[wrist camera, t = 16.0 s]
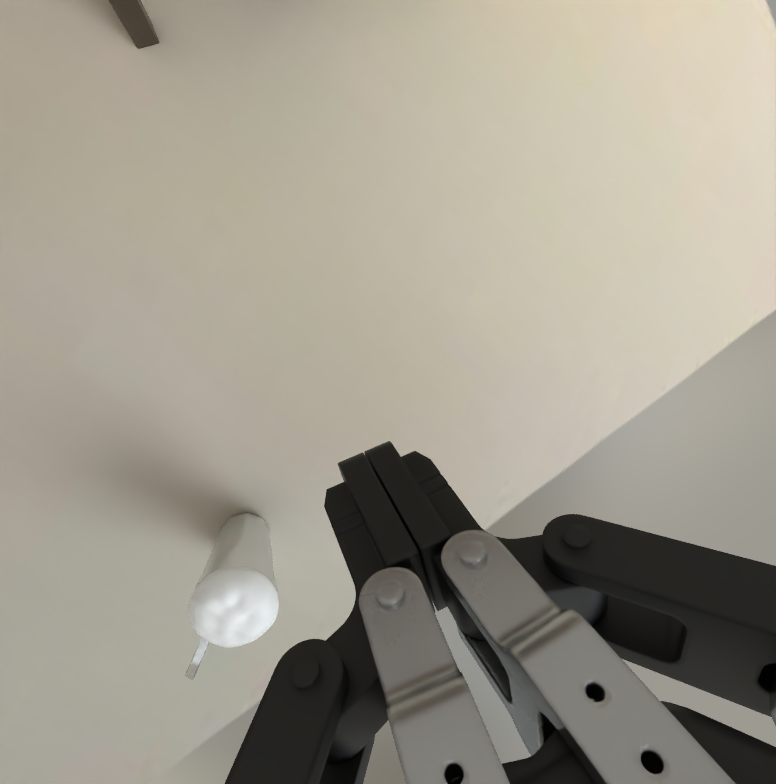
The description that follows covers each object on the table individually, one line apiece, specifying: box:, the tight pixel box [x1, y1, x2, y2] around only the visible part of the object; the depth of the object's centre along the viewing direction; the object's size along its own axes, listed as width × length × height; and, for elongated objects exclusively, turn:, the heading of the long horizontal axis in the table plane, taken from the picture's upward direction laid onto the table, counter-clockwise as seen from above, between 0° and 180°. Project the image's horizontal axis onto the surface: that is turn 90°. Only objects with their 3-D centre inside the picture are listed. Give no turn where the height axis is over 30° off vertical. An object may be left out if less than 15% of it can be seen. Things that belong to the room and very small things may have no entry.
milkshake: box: [185, 513, 279, 680], centre depth 29 cm, size 5×5×10 cm
